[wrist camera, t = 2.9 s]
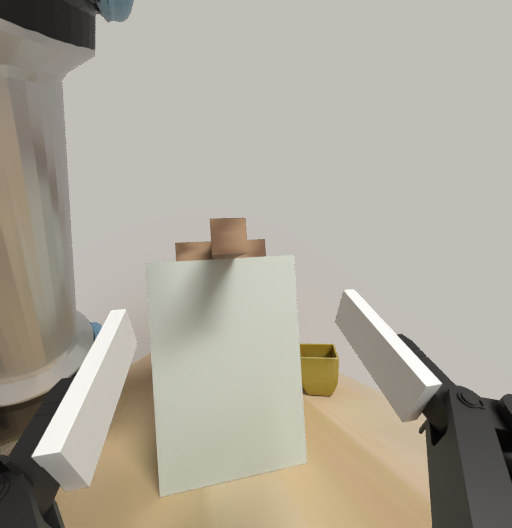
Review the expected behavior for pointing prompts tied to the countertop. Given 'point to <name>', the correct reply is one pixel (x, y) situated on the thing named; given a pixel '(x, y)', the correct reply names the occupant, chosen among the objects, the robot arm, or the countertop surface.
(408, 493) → the countertop surface
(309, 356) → the flower pot
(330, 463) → the countertop surface
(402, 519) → the countertop surface
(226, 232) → the T-bar
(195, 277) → the stand
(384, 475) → the countertop surface
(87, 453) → the robot arm
